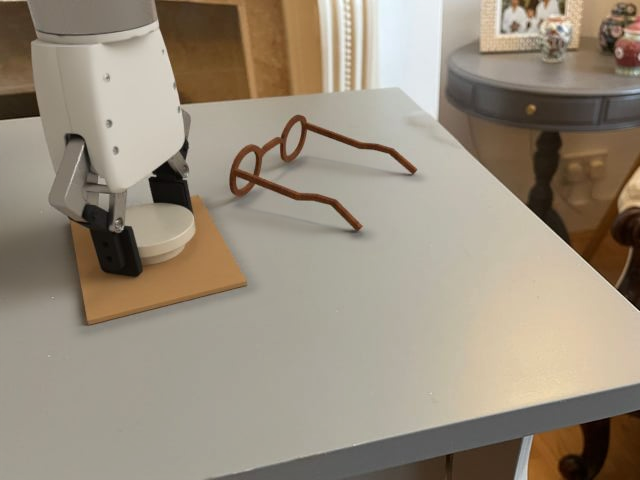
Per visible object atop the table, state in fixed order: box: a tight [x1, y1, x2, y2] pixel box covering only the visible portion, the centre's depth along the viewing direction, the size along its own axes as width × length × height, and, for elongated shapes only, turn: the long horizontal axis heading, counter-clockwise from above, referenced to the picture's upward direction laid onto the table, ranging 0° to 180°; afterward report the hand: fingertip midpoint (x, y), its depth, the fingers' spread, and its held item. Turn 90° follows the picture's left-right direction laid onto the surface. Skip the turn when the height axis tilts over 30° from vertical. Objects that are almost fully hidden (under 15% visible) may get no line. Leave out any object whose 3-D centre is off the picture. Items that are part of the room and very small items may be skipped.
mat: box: [69, 194, 248, 326], centre depth 52 cm, size 16×11×1 cm
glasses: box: [228, 114, 418, 232], centre depth 60 cm, size 13×13×5 cm
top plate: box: [125, 202, 196, 265], centre depth 51 cm, size 7×7×2 cm
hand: (151, 245), depth 52 cm, fingers closed on top plate, 7 cm apart
